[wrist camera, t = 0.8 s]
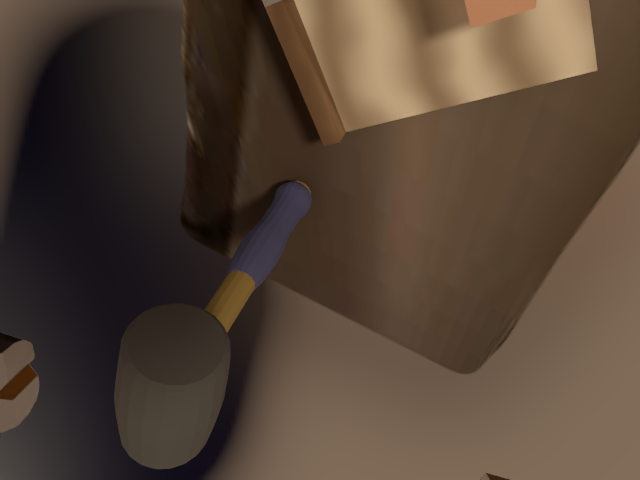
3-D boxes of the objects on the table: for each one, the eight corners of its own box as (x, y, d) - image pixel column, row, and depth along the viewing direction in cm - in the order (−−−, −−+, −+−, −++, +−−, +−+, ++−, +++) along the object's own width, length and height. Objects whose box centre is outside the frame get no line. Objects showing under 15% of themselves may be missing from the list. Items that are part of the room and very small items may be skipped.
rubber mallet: (315, 244, 60) (184, 495, 38) (256, 218, 61) (93, 451, 39) (348, 158, 52) (203, 417, 30) (279, 128, 52) (86, 361, 30)
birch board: (568, -154, 33) (571, -150, 30) (595, 60, 40) (599, 80, 37) (275, -26, 43) (256, -14, 40) (336, 126, 50) (323, 146, 47)
